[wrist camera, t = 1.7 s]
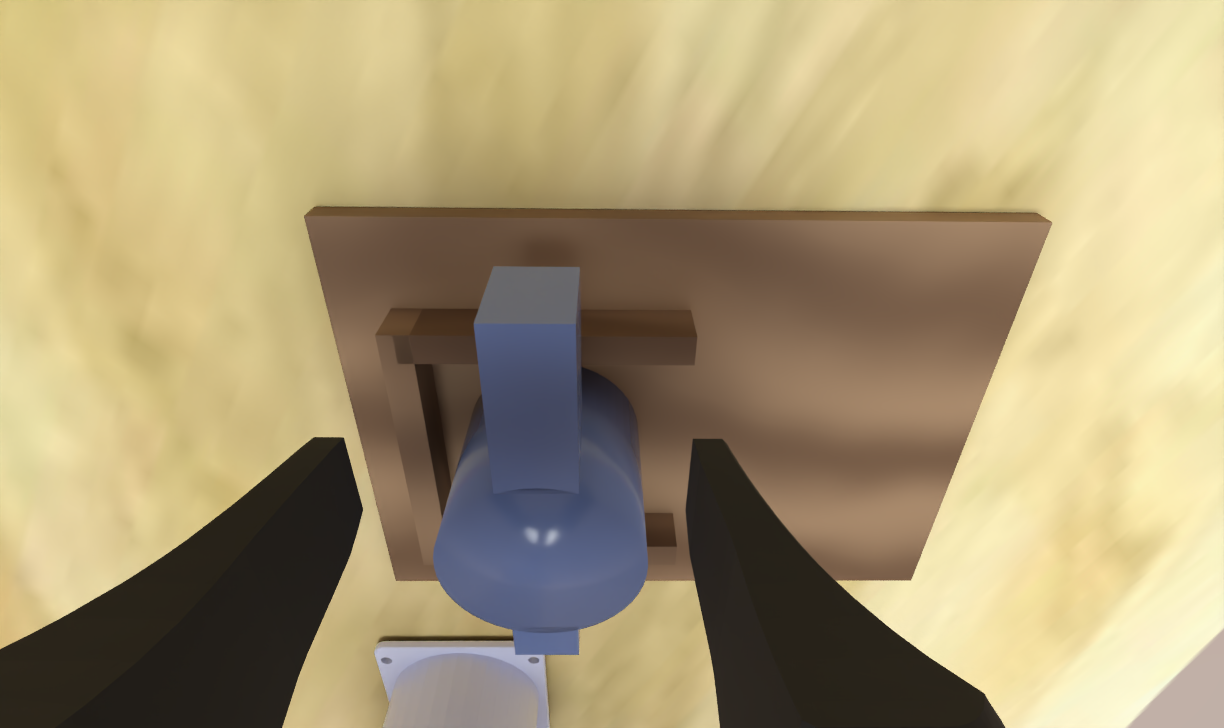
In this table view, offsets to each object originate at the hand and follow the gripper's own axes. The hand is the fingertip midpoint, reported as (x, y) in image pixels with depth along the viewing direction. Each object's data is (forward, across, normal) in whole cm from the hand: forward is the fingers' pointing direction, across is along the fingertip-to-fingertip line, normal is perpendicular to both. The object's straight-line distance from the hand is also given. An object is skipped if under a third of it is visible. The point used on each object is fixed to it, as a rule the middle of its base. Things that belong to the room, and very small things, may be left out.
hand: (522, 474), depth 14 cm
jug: (+8, 0, +4) cm, 9 cm away
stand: (+9, -4, +5) cm, 11 cm away
